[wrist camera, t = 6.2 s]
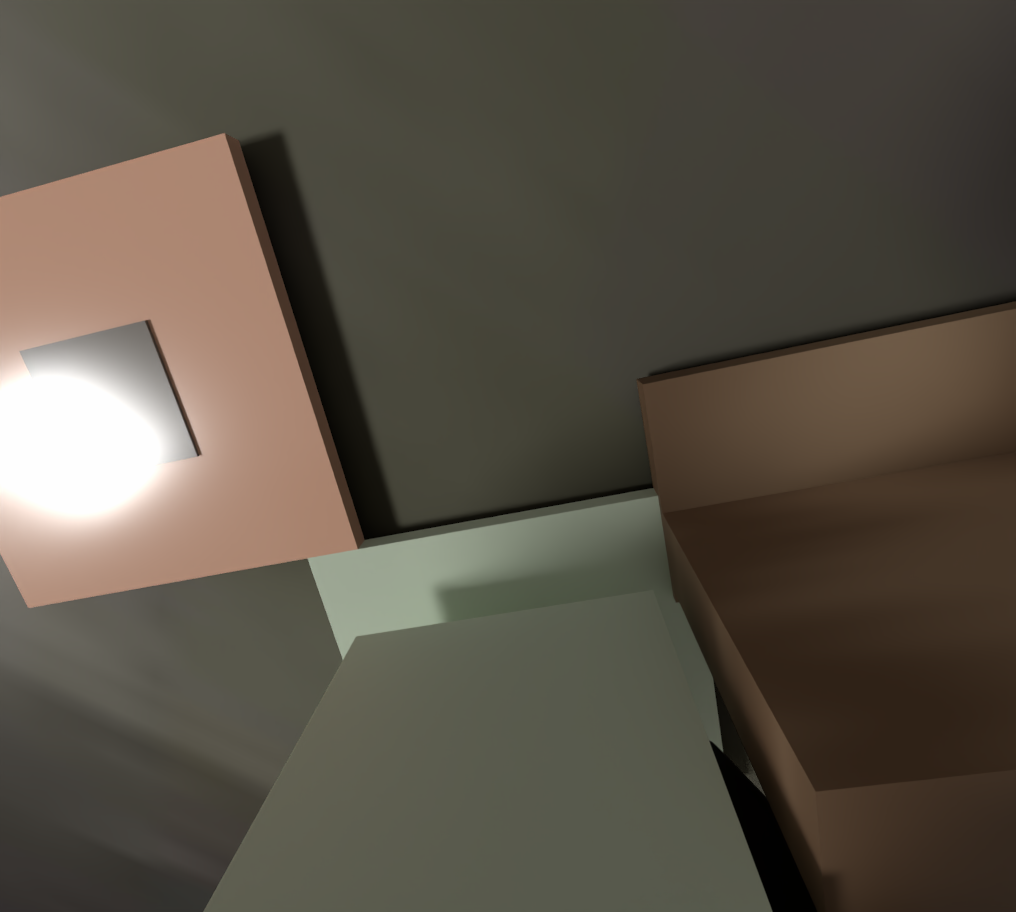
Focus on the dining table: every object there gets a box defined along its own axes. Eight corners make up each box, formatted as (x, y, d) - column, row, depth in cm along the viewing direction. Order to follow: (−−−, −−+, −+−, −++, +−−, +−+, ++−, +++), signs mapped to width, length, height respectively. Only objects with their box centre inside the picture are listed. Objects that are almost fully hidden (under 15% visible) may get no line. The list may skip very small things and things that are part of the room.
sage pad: (681, 482, 10) (688, 491, 9) (724, 788, 11) (731, 807, 11) (315, 548, 10) (305, 559, 10) (410, 823, 12) (405, 843, 12)
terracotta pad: (238, 140, 9) (222, 131, 8) (364, 539, 10) (356, 550, 10) (-133, 244, 9) (-165, 242, 9) (46, 597, 11) (25, 609, 11)
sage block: (652, 589, 9) (798, 980, 4) (692, 833, 10) (838, 1358, 5) (355, 636, 9) (139, 1025, 4) (431, 860, 10) (333, 1350, 6)
